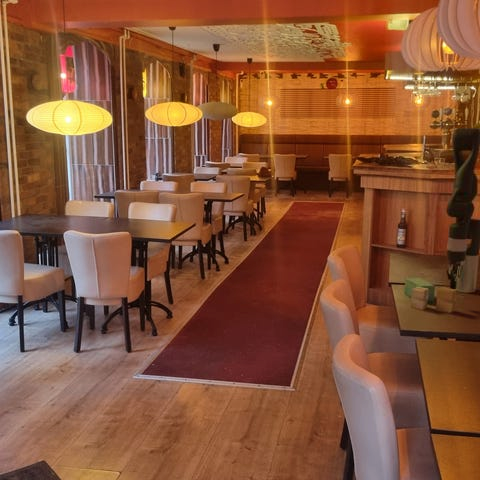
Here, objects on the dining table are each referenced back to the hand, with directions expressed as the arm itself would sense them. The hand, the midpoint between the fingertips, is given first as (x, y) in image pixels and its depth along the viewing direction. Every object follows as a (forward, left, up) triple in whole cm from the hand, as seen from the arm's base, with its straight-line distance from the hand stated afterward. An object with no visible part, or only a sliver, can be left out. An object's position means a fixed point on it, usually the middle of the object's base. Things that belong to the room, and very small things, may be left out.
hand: (453, 289), depth 254 cm
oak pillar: (+7, 0, -8) cm, 10 cm away
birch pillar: (+10, -10, -8) cm, 16 cm away
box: (-3, -16, -8) cm, 18 cm away
